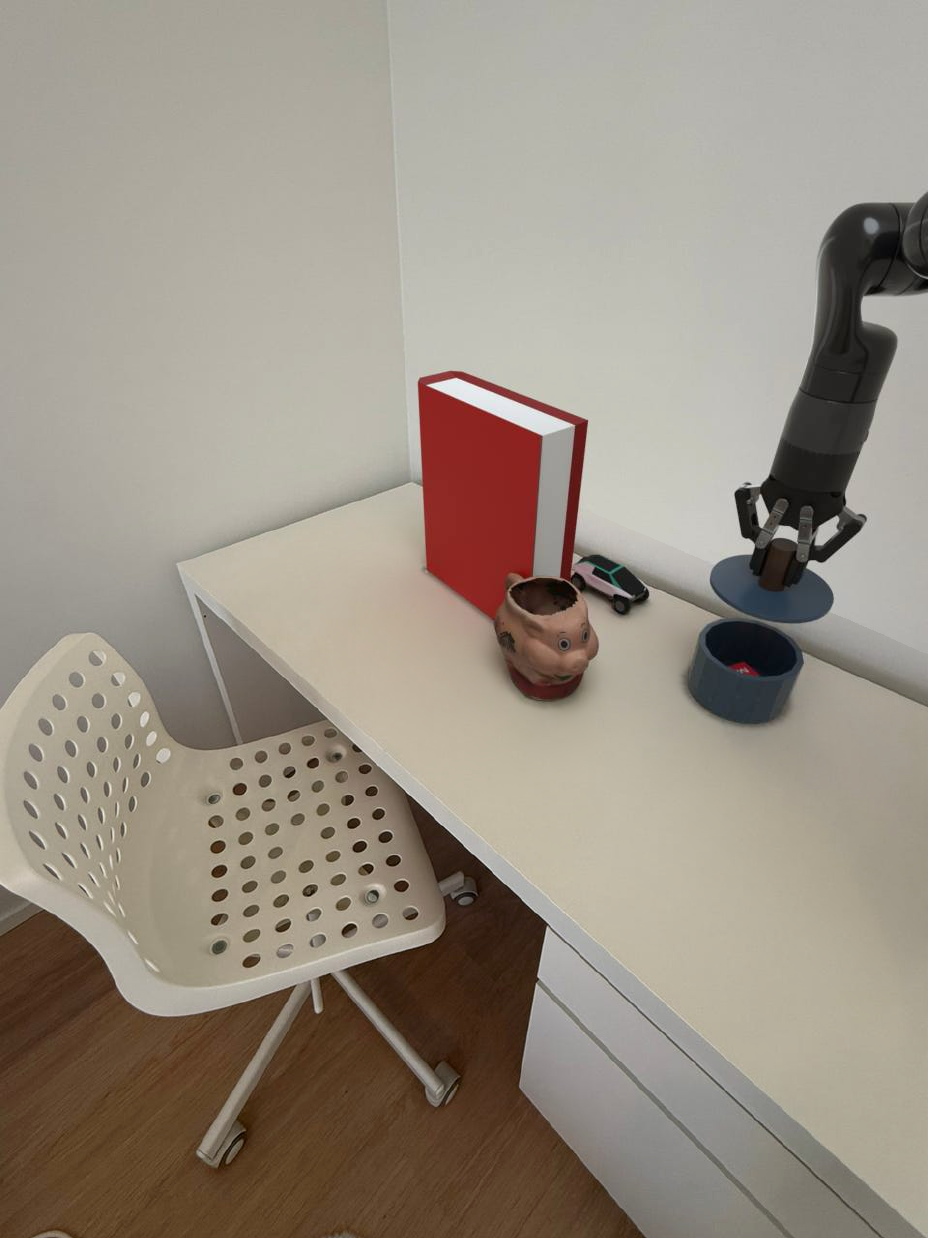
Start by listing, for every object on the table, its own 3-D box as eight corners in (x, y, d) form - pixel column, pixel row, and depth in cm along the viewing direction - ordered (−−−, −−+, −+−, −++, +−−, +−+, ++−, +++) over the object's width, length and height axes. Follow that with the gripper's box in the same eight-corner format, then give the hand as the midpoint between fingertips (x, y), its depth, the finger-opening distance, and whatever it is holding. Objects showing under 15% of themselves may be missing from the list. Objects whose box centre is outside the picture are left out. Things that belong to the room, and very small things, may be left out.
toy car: (589, 572, 111) (593, 545, 108) (648, 602, 104) (654, 574, 101) (567, 585, 108) (570, 558, 105) (625, 617, 101) (630, 589, 98)
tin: (798, 685, 88) (816, 642, 84) (766, 739, 81) (784, 695, 76) (709, 648, 95) (721, 606, 90) (672, 694, 87) (683, 651, 83)
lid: (844, 588, 78) (865, 539, 74) (810, 644, 69) (831, 592, 65) (733, 550, 85) (746, 504, 81) (690, 597, 76) (702, 548, 72)
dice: (736, 697, 86) (742, 681, 84) (720, 683, 88) (726, 667, 86) (753, 691, 87) (759, 675, 85) (738, 677, 89) (743, 661, 87)
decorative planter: (464, 646, 95) (463, 566, 87) (532, 621, 100) (538, 543, 92) (542, 733, 81) (550, 648, 73) (617, 699, 86) (633, 616, 78)
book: (565, 624, 100) (588, 420, 80) (526, 644, 96) (540, 435, 76) (458, 551, 117) (456, 369, 97) (422, 566, 113) (412, 379, 94)
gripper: (739, 430, 67) (702, 571, 77) (891, 466, 59) (827, 616, 70) (765, 410, 71) (726, 546, 82) (908, 442, 64) (845, 585, 75)
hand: (773, 577), depth 76 cm, fingers closed on lid, 3 cm apart
